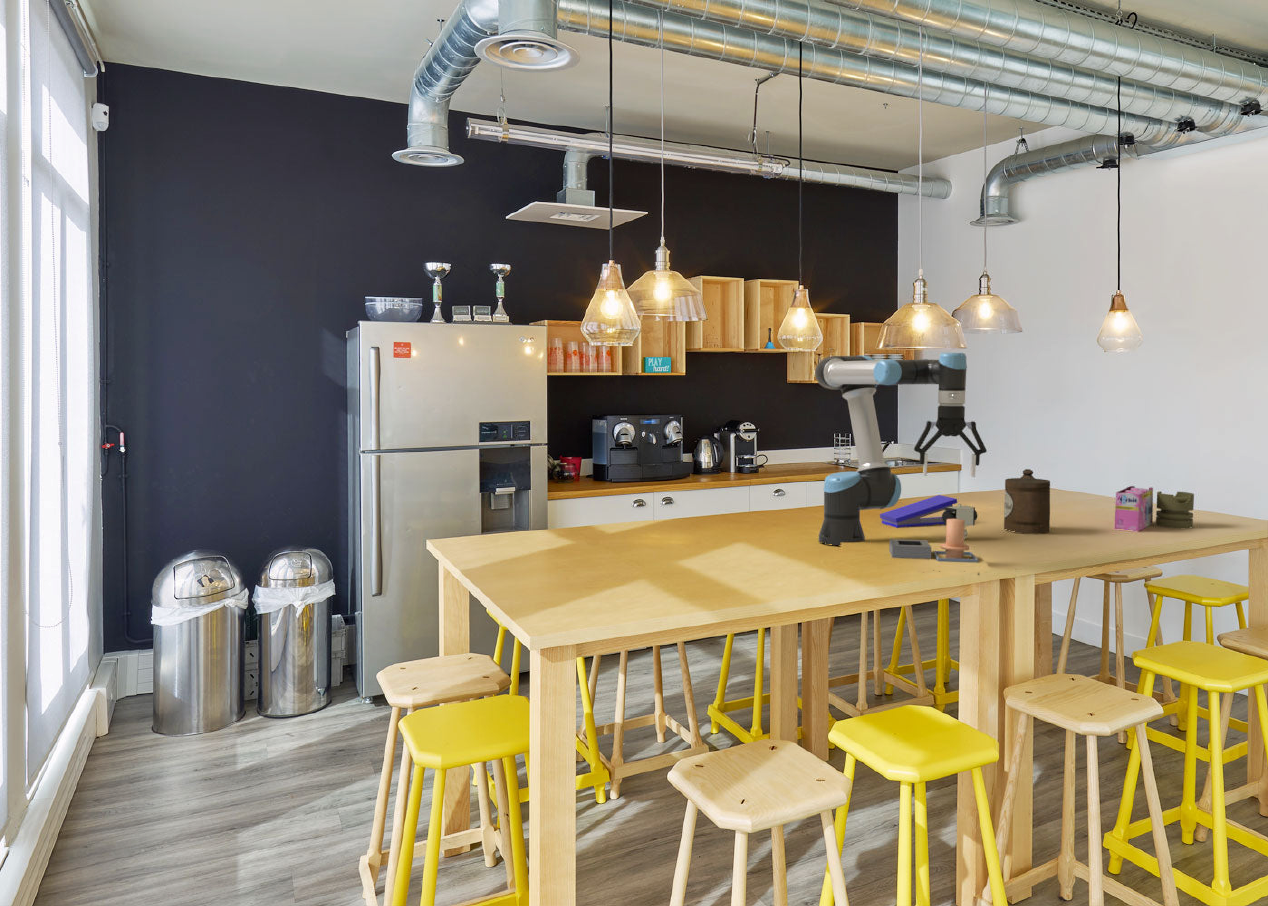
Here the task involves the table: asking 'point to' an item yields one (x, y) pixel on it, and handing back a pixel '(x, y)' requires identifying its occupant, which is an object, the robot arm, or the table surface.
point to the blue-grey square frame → (955, 559)
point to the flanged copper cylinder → (955, 539)
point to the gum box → (1134, 508)
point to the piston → (1175, 510)
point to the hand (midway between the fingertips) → (948, 475)
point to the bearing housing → (910, 549)
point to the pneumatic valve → (960, 515)
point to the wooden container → (1027, 504)
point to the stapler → (918, 512)
